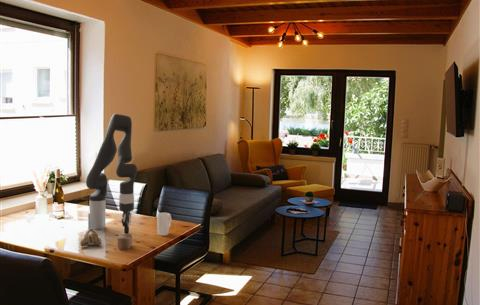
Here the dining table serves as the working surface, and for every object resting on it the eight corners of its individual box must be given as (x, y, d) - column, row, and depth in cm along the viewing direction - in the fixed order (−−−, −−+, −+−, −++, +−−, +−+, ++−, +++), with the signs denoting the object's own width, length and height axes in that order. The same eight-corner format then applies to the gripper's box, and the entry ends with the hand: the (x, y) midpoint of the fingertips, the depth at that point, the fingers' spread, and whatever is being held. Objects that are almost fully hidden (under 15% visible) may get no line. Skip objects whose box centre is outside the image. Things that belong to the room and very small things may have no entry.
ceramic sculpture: (101, 224, 249) (101, 233, 235) (101, 239, 251) (101, 249, 236) (81, 225, 246) (79, 234, 232) (81, 240, 247) (80, 250, 233)
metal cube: (120, 243, 242) (118, 248, 236) (120, 233, 240) (117, 238, 234) (132, 243, 242) (129, 249, 236) (131, 233, 240) (129, 238, 234)
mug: (162, 236, 260) (163, 216, 258) (154, 234, 264) (154, 214, 262) (175, 232, 268) (175, 213, 267) (167, 230, 272) (167, 211, 270)
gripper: (122, 198, 245) (122, 229, 247) (116, 204, 232) (116, 236, 234) (136, 198, 245) (136, 229, 247) (131, 204, 232) (130, 237, 234)
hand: (126, 233), depth 241 cm, fingers closed
